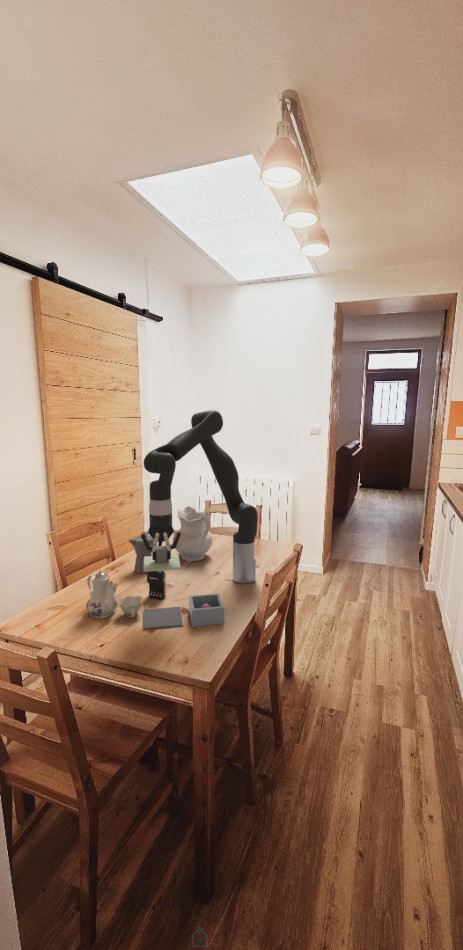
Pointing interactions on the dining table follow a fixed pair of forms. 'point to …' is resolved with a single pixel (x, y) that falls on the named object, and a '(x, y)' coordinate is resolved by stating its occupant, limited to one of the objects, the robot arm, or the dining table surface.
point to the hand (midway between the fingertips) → (161, 560)
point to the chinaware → (108, 598)
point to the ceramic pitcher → (193, 534)
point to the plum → (205, 606)
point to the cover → (161, 561)
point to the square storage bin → (206, 610)
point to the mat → (162, 618)
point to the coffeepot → (141, 552)
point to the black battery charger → (157, 584)
